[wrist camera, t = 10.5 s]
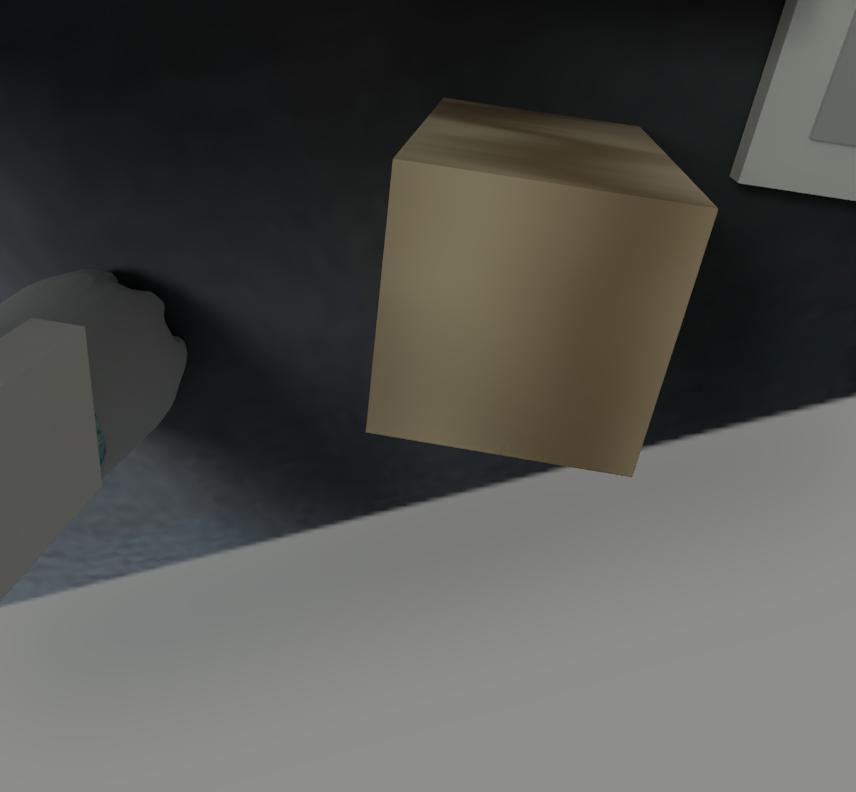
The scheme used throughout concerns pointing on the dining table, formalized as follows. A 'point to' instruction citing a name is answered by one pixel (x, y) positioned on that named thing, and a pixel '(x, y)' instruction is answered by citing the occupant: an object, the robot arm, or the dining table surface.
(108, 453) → the bottle
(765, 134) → the seat plate
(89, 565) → the dining table surface
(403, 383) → the block
